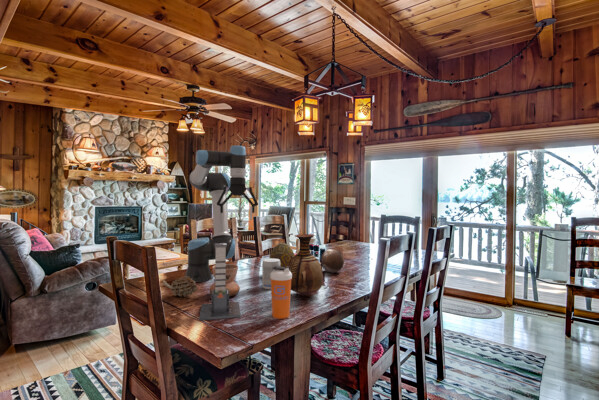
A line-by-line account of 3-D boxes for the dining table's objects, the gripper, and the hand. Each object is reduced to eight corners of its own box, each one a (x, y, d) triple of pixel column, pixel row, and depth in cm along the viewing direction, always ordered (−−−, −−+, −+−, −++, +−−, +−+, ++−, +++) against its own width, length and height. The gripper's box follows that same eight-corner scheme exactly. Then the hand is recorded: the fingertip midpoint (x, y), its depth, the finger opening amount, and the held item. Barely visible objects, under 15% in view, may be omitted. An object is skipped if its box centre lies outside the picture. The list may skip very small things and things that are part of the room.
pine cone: (202, 295, 159) (202, 275, 159) (188, 301, 150) (188, 280, 150) (167, 290, 167) (167, 270, 167) (152, 295, 158) (152, 275, 158)
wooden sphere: (316, 272, 207) (316, 249, 206) (327, 268, 219) (328, 246, 219) (337, 276, 198) (337, 251, 198) (348, 271, 210) (348, 248, 210)
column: (214, 290, 139) (214, 243, 139) (226, 289, 141) (226, 243, 140) (214, 293, 135) (214, 245, 134) (226, 292, 136) (226, 244, 135)
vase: (315, 305, 147) (316, 238, 146) (278, 300, 153) (279, 236, 153) (328, 291, 167) (328, 233, 166) (294, 287, 173) (295, 231, 173)
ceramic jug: (231, 301, 150) (231, 271, 150) (202, 298, 154) (203, 268, 154) (245, 291, 168) (246, 263, 168) (219, 288, 171) (220, 261, 171)
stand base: (201, 306, 144) (201, 285, 144) (238, 304, 147) (238, 283, 147) (199, 320, 128) (199, 297, 128) (240, 317, 132) (240, 294, 132)
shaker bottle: (269, 311, 138) (270, 264, 138) (291, 311, 139) (291, 264, 139) (269, 320, 129) (270, 269, 129) (292, 319, 130) (292, 269, 130)
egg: (263, 275, 200) (263, 242, 199) (284, 271, 210) (284, 240, 210) (280, 280, 187) (280, 245, 187) (301, 276, 198) (301, 243, 198)
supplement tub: (283, 288, 172) (283, 260, 172) (267, 291, 167) (267, 262, 167) (274, 284, 181) (274, 257, 180) (259, 286, 175) (259, 259, 175)
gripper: (211, 176, 157) (211, 220, 157) (263, 177, 162) (263, 220, 163) (212, 176, 164) (211, 219, 164) (262, 177, 170) (261, 218, 170)
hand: (237, 219), depth 164 cm, fingers open, 13 cm apart
